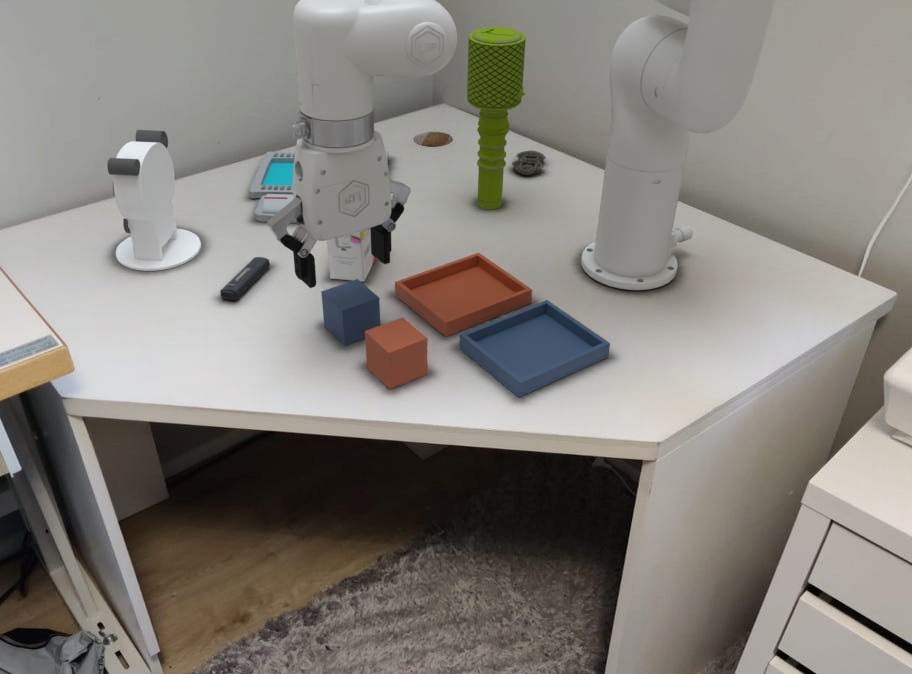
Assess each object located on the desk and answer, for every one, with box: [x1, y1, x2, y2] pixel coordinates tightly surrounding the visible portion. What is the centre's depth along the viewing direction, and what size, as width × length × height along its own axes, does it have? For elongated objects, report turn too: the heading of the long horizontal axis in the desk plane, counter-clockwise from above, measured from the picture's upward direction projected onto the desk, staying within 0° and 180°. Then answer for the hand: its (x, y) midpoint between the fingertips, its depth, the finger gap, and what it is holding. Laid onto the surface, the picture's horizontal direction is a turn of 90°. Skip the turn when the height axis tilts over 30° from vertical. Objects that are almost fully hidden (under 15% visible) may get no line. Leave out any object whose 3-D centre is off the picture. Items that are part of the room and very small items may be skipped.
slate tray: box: [459, 299, 611, 398], centre depth 103 cm, size 13×11×2 cm
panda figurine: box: [106, 129, 202, 272], centre depth 118 cm, size 12×11×15 cm
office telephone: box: [249, 150, 390, 224], centre depth 136 cm, size 23×3×20 cm
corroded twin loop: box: [511, 150, 546, 176], centre depth 143 cm, size 5×8×1 cm, turn 166°
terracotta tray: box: [394, 252, 533, 337], centre depth 112 cm, size 13×11×2 cm
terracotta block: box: [364, 316, 428, 390], centre depth 99 cm, size 5×5×5 cm
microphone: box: [466, 26, 527, 210], centre depth 125 cm, size 8×8×25 cm
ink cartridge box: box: [326, 228, 377, 283], centre depth 114 cm, size 9×5×15 cm, turn 168°
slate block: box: [320, 279, 381, 347], centre depth 105 cm, size 5×5×5 cm
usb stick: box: [220, 256, 271, 301], centre depth 115 cm, size 10×3×2 cm, turn 160°
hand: (344, 270), depth 102 cm, fingers open, 9 cm apart
